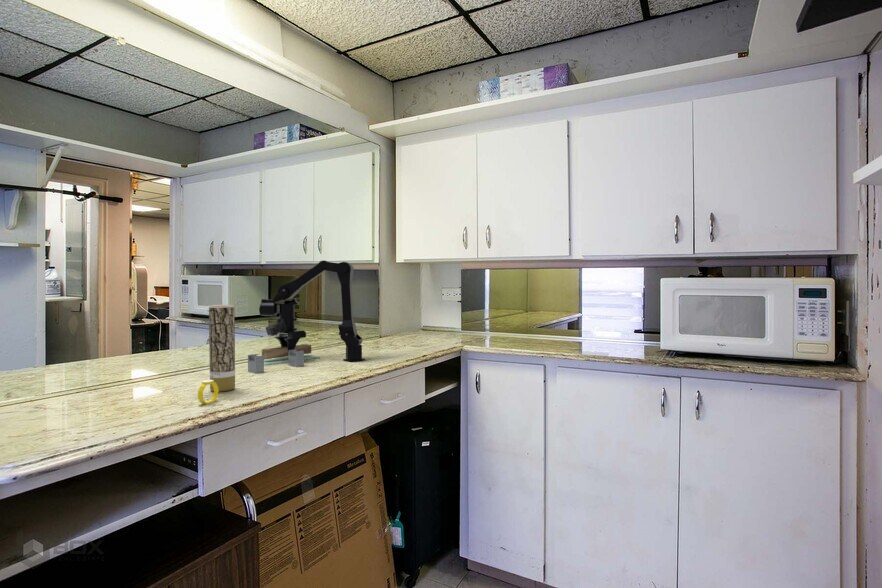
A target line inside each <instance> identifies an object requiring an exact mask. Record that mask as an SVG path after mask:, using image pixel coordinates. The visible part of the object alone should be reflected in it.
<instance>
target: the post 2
mask: <svg viewBox="0 0 882 588" xmlns="http://www.w3.org/2000/svg"><path fill="white" fill-rule="evenodd" d="M304 355H305V354H304V351H297V349H293V350H288V356H287V357H288V358H289V362H288V366H290V365H291V366H290V367H294V366H296V367H295V368H299V367H298V366H301V367H305V360H304Z"/></svg>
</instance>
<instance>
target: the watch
mask: <svg viewBox="0 0 882 588" xmlns="http://www.w3.org/2000/svg"><path fill="white" fill-rule="evenodd" d="M210 384H212V385H213V387H214V391H213V394H212V396H211V398H210V399H209V400H207V401H205V399H204V397H203V396H204V390H205V388H206V387H207V386H208V385H210ZM218 396H219V390H218V386H217V384H216V383H215V382H214V380H210V379H205V380H204V379H203V380H202V381H201V385H200V386H199V387H198V390H197V398H198V402H199V403H201V404H202V405H208V403H209V404H210V402H211V403H214V402H215V401H216V400H217V398H218ZM213 401H214V402H213Z"/></svg>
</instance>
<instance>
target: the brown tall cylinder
mask: <svg viewBox="0 0 882 588" xmlns="http://www.w3.org/2000/svg"><path fill="white" fill-rule="evenodd" d="M235 326H236V325H235V306H234V304H212V305H208V333H209V334H208V338H209V350H208V351H209V354H208V355H209V380H214V382H215V383H216V384H217V386H218V390H219V392H222V391H223V392H228V391H233V390H234V389H235V388H236V350H235V349H236V344H235V343H236V340H235V339H236V336H235V332H236V331H235ZM209 389H210V391H212V392H214V387H213V385H212V384H209Z"/></svg>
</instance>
